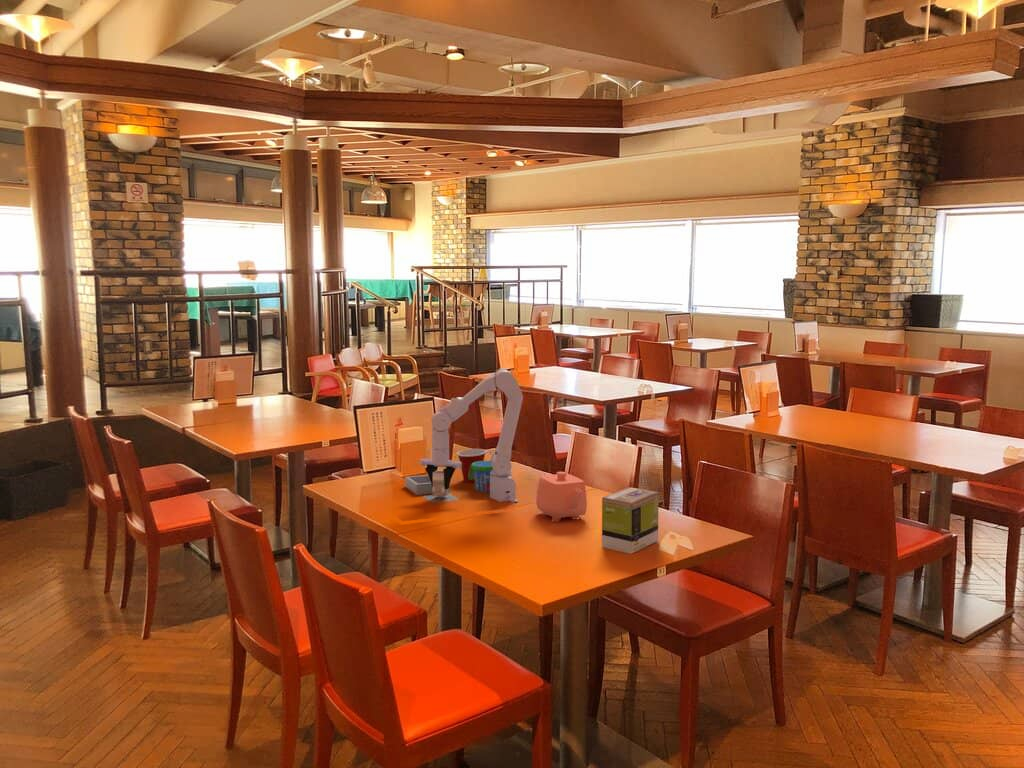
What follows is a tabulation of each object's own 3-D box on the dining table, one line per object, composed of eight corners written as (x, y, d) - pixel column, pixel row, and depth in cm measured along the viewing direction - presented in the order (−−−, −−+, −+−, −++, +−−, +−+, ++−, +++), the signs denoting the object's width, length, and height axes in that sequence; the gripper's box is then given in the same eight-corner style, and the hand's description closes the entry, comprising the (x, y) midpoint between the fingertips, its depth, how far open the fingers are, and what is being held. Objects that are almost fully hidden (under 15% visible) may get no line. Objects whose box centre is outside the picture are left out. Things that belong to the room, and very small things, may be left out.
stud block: (460, 502, 273) (460, 491, 272) (431, 506, 268) (431, 494, 268) (448, 495, 282) (448, 484, 281) (421, 498, 277) (421, 487, 277)
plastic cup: (454, 480, 304) (455, 448, 302) (483, 479, 306) (483, 447, 304) (458, 487, 293) (458, 454, 292) (488, 486, 295) (488, 453, 294)
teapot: (596, 524, 251) (597, 478, 249) (559, 528, 245) (560, 482, 244) (563, 505, 270) (564, 463, 269) (528, 509, 265) (529, 467, 264)
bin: (449, 493, 284) (449, 481, 283) (416, 497, 279) (416, 484, 278) (437, 486, 295) (437, 473, 294) (405, 489, 289) (405, 476, 289)
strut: (443, 496, 272) (443, 473, 271) (432, 495, 274) (432, 472, 273) (448, 494, 276) (448, 470, 275) (437, 492, 277) (437, 469, 276)
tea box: (628, 534, 240) (629, 485, 238) (658, 542, 234) (660, 491, 232) (600, 547, 229) (601, 495, 227) (631, 555, 222) (632, 502, 220)
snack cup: (460, 490, 289) (460, 462, 288) (482, 485, 296) (482, 458, 295) (491, 498, 278) (491, 468, 277) (513, 493, 285) (513, 464, 284)
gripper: (465, 447, 274) (465, 487, 276) (425, 444, 279) (425, 483, 281) (457, 451, 268) (457, 492, 269) (416, 448, 272) (416, 488, 274)
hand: (440, 487), depth 275 cm, fingers closed on strut, 4 cm apart
